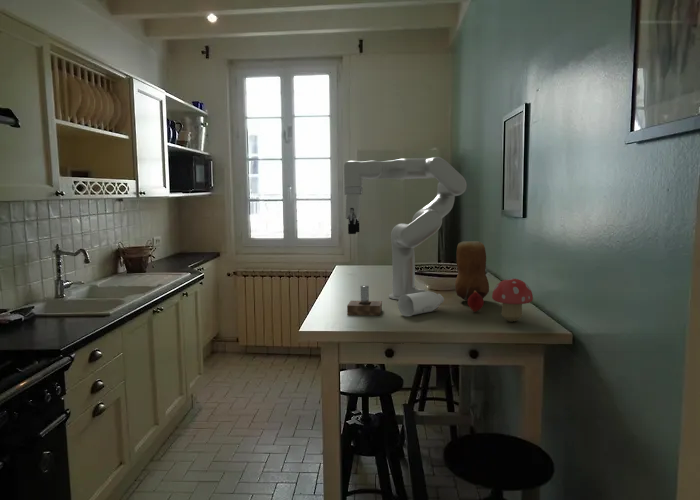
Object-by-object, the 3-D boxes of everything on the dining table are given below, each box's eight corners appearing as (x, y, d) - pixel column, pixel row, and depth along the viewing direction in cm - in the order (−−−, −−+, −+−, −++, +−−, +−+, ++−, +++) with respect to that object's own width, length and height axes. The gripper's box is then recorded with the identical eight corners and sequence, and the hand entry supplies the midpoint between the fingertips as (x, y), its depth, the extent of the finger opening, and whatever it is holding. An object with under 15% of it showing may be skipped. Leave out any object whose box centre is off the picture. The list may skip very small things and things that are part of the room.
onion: (484, 310, 196) (484, 289, 196) (482, 314, 191) (483, 292, 190) (468, 309, 198) (468, 289, 197) (466, 313, 193) (466, 291, 192)
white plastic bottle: (448, 311, 197) (448, 290, 196) (412, 318, 186) (412, 296, 185) (432, 307, 203) (433, 287, 202) (397, 314, 192) (397, 293, 191)
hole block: (381, 310, 199) (381, 301, 199) (379, 315, 191) (379, 306, 190) (350, 309, 201) (350, 300, 201) (347, 314, 192) (347, 305, 192)
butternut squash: (471, 296, 223) (471, 238, 220) (495, 302, 212) (496, 240, 209) (447, 300, 215) (447, 240, 212) (471, 306, 204) (472, 242, 201)
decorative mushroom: (504, 315, 189) (505, 274, 187) (539, 321, 179) (540, 278, 177) (483, 321, 180) (484, 278, 178) (519, 328, 170) (520, 283, 168)
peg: (369, 311, 197) (369, 285, 196) (368, 313, 194) (368, 286, 193) (361, 311, 198) (361, 285, 197) (360, 313, 195) (360, 286, 194)
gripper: (347, 191, 223) (348, 231, 225) (341, 191, 206) (341, 234, 208) (365, 191, 222) (365, 231, 223) (359, 191, 205) (360, 234, 206)
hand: (353, 233), depth 216 cm, fingers open, 9 cm apart
